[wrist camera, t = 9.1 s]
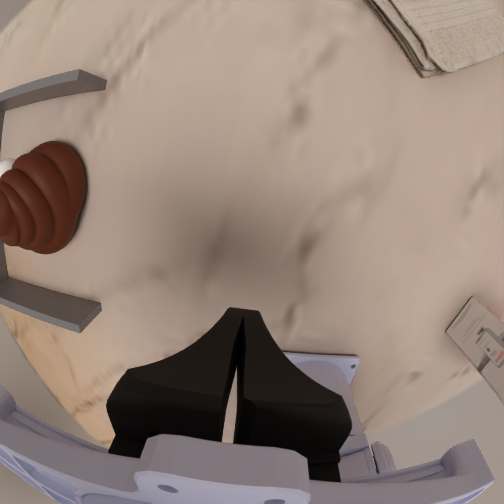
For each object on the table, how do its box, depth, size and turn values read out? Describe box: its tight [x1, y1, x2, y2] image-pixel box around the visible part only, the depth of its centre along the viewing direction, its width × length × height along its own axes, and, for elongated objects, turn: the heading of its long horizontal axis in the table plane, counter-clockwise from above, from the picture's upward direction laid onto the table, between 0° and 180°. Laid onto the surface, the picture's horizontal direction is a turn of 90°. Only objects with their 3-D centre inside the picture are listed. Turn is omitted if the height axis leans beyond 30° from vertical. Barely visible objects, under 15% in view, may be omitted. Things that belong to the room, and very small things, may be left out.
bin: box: [0, 69, 107, 333], centre depth 18 cm, size 20×15×4 cm
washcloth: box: [364, 0, 504, 78], centre depth 12 cm, size 12×18×3 cm, turn 124°
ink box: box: [446, 297, 504, 405], centre depth 17 cm, size 9×5×12 cm, turn 58°
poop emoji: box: [0, 141, 86, 254], centre depth 16 cm, size 10×8×9 cm
